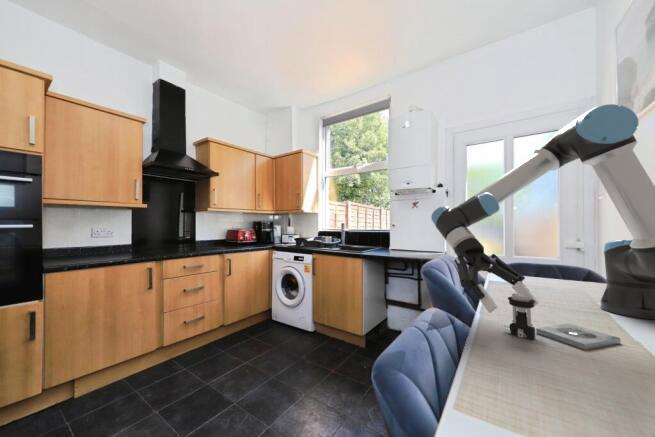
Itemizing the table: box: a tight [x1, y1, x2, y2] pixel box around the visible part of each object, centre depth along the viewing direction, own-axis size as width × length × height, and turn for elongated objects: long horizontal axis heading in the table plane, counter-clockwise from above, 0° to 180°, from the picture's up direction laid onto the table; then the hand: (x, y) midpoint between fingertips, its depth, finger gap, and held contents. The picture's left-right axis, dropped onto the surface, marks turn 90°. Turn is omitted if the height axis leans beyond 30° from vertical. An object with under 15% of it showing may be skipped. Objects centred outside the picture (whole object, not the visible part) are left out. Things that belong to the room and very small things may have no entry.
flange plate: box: [535, 323, 622, 351], centre depth 62 cm, size 12×10×1 cm
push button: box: [503, 293, 536, 341], centre depth 64 cm, size 7×5×10 cm
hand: (514, 307), depth 64 cm, fingers open, 13 cm apart
